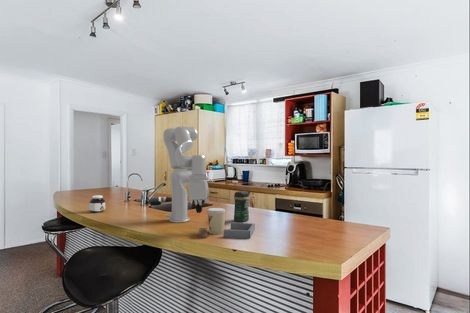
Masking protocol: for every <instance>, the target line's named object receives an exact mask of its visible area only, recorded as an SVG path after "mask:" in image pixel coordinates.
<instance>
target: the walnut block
mask: <svg viewBox="0 0 470 313" xmlns="http://www.w3.org/2000/svg"><path fill="white" fill-rule="evenodd" d="M198 238H199V239H207V238H208V227H199V228H198Z"/></svg>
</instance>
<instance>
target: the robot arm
mask: <svg viewBox="0 0 470 313" xmlns="http://www.w3.org/2000/svg"><path fill="white" fill-rule="evenodd" d="M198 134H199V133H198V130H197V128H196V127H193V126H177V127H175V128H174V127H171V128H165V130H163V134H162V135H163V136H162V137H163V143H164V145H165V147H166V149H167V152H168V158H169V164H170V168H171V169H173V171H172V172H171V173H170V176H169V178H170V184H171V185H170V186H171V213H166V214H165V217H167V218H169V219H168V221H169V222H170V223H178V224H179V223H186V222H189V221H190V219H191V217H189V216H188V200H189V202H193V204H194V205H195V212H196V214H200V213H202V211H203V205H204V203H206V202H210V198H209V197H210V196H209V194H210V192H209V184H208V180H207V177H206V176H207V173H206V172H207V170H206V169H207V168H206V167H207V166H206V165H207V162H206V160H207V159H206V156H205V155H203V154H195V155H194V154H183V153H186V152H188V151H190V150H191V149H192V148H193V146H194V141H196V140H197V138H198V136H199V135H198ZM188 185H189V187H188V190H187V189H186V188H185V187H184V186H188Z"/></svg>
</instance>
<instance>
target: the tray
mask: <svg viewBox="0 0 470 313" xmlns="http://www.w3.org/2000/svg"><path fill="white" fill-rule="evenodd" d="M255 229H256V224H255V223H253V222H252V223H248V222H247V223H246V222H230V229H227V228H224V232H223V238H231V239H232V238H234V239H248V238H250V239H251V237H252V235H253V234H254V232H255V231H256V230H255ZM254 230H255V231H254Z"/></svg>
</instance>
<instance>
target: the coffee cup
mask: <svg viewBox="0 0 470 313" xmlns="http://www.w3.org/2000/svg"><path fill="white" fill-rule="evenodd" d="M207 219H208V222H207V223H208V232H209V234H212V235H220V234H224V229H225V221H226V220H225V219H226V209H225V208H223V207H211V208H208V209H207Z"/></svg>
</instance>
